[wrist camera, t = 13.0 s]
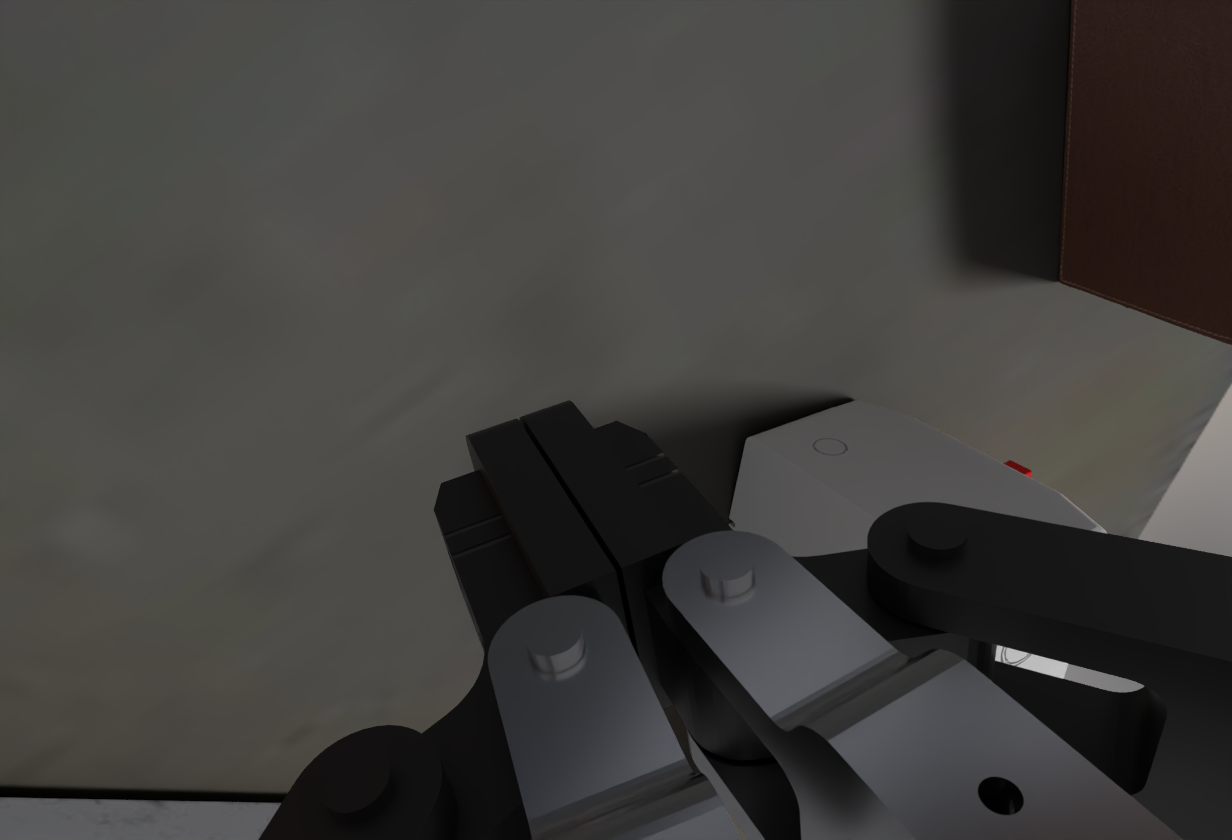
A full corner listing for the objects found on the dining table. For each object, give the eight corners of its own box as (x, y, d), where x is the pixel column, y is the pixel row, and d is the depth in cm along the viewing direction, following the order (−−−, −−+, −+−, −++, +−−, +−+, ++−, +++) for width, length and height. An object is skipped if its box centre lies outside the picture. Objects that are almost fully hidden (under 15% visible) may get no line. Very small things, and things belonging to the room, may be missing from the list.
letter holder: (1054, 283, 57) (1263, 363, 45) (1066, -32, 46) (1345, -33, 34) (1165, 229, 59) (1392, 291, 47) (1202, -88, 48) (1510, -106, 36)
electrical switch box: (876, 536, 65) (1126, 707, 50) (723, 605, 58) (958, 827, 43) (903, 367, 58) (1206, 506, 42) (733, 424, 51) (1019, 613, 36)
